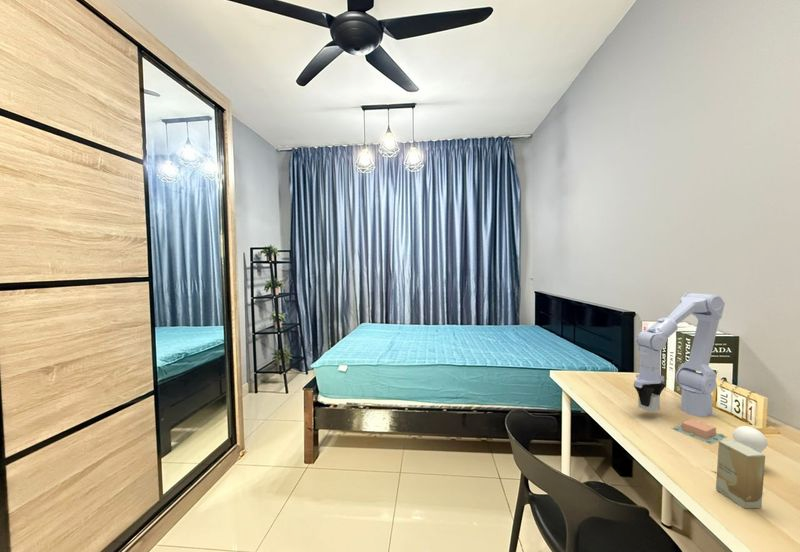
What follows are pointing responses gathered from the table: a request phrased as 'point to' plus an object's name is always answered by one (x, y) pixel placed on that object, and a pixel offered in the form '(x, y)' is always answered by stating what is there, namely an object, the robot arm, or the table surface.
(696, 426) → the base brick
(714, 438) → the build plate
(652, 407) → the grey brick
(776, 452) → the table surface
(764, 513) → the table surface
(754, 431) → the lightbulb
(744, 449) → the skincare box
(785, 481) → the table surface
